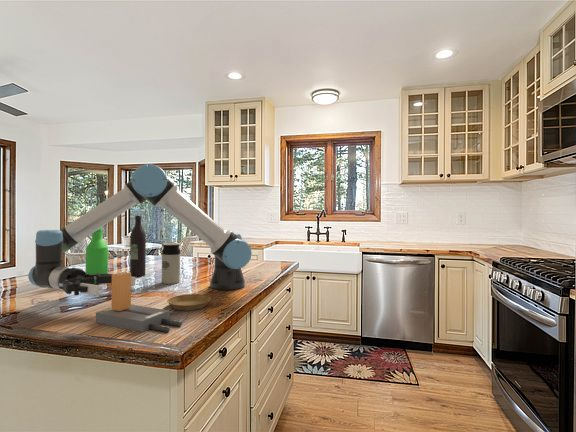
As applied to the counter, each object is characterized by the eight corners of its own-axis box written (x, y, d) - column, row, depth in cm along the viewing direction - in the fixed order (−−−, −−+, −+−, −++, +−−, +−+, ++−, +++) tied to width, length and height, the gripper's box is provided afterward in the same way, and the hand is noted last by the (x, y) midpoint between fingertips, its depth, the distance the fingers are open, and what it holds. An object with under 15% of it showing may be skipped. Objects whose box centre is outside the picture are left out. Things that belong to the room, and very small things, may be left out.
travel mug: (172, 279, 163) (173, 242, 163) (183, 282, 159) (184, 243, 158) (157, 282, 157) (158, 243, 157) (168, 285, 152) (169, 244, 152)
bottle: (100, 284, 152) (101, 227, 151) (81, 283, 152) (81, 227, 151) (111, 280, 161) (111, 226, 160) (92, 279, 161) (93, 226, 160)
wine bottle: (130, 275, 173) (130, 215, 172) (145, 274, 176) (145, 215, 175) (129, 277, 166) (130, 215, 166) (145, 276, 169) (146, 215, 169)
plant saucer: (193, 315, 111) (193, 307, 111) (157, 309, 117) (157, 301, 117) (219, 303, 125) (219, 296, 125) (186, 299, 131) (186, 292, 131)
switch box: (95, 322, 102) (95, 312, 102) (125, 312, 112) (126, 303, 112) (161, 335, 92) (161, 324, 92) (187, 323, 102) (188, 313, 102)
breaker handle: (111, 309, 104) (111, 274, 104) (122, 306, 108) (122, 272, 107) (120, 311, 103) (120, 275, 102) (130, 307, 106) (131, 273, 106)
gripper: (102, 283, 125) (147, 289, 117) (28, 299, 102) (78, 308, 94) (102, 262, 125) (147, 267, 117) (28, 273, 101) (78, 280, 94)
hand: (117, 285), depth 105 cm, fingers open, 13 cm apart
